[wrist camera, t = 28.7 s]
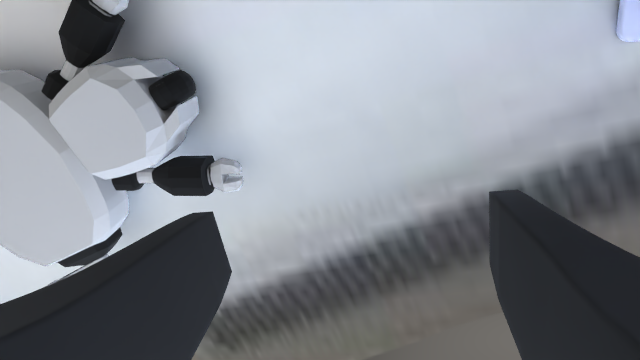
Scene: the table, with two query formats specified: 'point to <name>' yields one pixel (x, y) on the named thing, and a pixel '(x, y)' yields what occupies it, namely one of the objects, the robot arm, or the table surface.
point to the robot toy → (93, 143)
